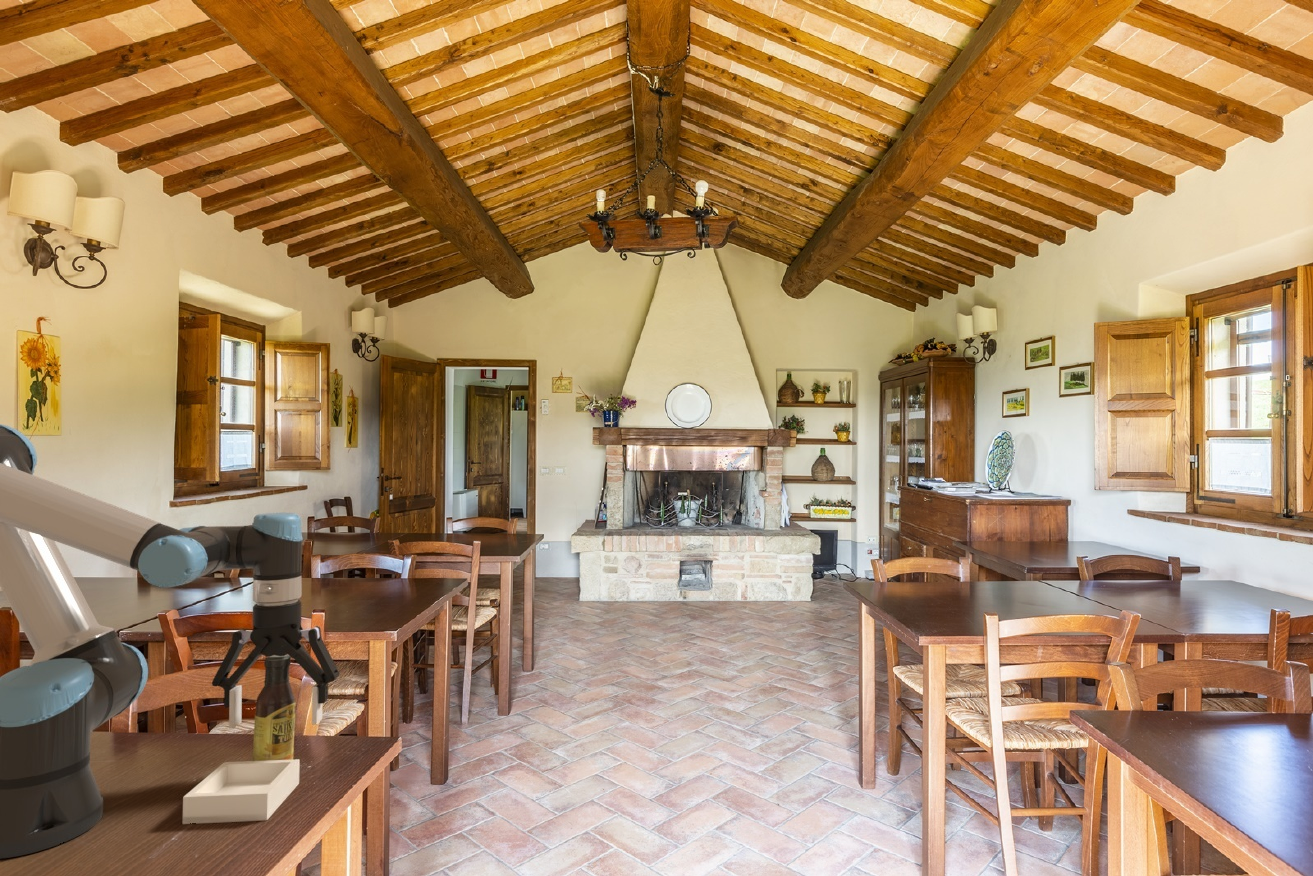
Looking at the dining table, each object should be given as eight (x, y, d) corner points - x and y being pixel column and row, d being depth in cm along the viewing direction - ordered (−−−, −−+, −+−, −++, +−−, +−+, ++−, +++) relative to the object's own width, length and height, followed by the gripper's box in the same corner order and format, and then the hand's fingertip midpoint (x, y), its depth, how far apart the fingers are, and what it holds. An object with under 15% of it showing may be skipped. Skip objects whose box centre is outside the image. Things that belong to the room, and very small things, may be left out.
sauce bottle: (275, 783, 117) (277, 664, 117) (243, 779, 118) (246, 662, 119) (302, 766, 123) (304, 653, 124) (271, 763, 125) (274, 651, 125)
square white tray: (182, 824, 104) (183, 797, 104) (223, 786, 116) (224, 762, 116) (267, 820, 105) (267, 793, 105) (299, 783, 117) (299, 759, 117)
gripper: (189, 608, 117) (188, 735, 116) (344, 603, 119) (343, 728, 119) (213, 599, 124) (212, 719, 123) (358, 595, 127) (357, 712, 126)
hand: (276, 724), depth 121 cm, fingers open, 13 cm apart
